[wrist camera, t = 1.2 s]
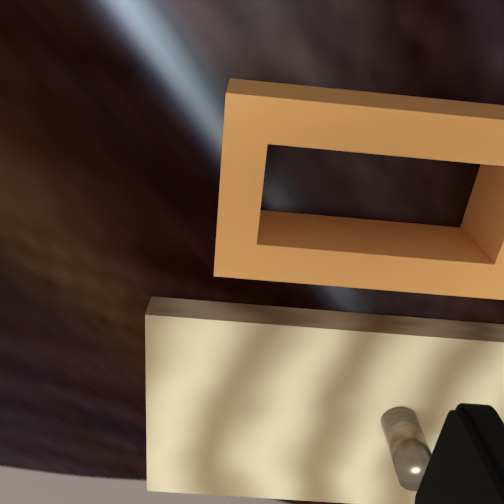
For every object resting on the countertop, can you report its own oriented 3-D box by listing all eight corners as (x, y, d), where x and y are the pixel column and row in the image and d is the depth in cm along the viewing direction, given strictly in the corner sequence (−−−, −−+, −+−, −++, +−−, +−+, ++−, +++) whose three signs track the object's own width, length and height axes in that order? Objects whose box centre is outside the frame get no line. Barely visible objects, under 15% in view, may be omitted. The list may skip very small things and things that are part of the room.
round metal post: (420, 407, 32) (444, 465, 28) (411, 433, 33) (433, 492, 29) (384, 405, 32) (404, 462, 28) (377, 430, 33) (394, 490, 29)
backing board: (550, 328, 31) (568, 347, 30) (475, 488, 39) (485, 511, 37) (151, 296, 30) (145, 314, 28) (152, 467, 38) (147, 490, 36)
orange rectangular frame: (537, 108, 25) (591, 128, 21) (482, 260, 29) (519, 301, 25) (230, 78, 24) (225, 92, 20) (219, 237, 28) (213, 276, 24)
